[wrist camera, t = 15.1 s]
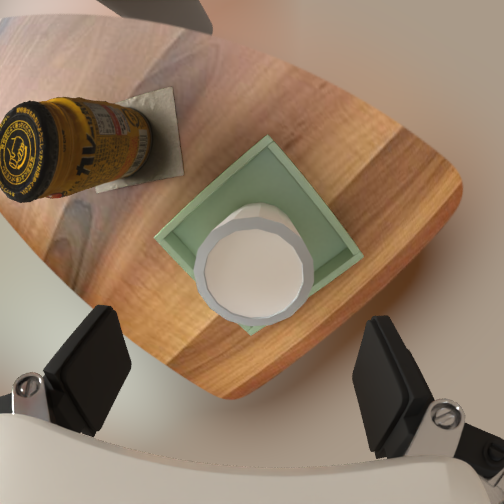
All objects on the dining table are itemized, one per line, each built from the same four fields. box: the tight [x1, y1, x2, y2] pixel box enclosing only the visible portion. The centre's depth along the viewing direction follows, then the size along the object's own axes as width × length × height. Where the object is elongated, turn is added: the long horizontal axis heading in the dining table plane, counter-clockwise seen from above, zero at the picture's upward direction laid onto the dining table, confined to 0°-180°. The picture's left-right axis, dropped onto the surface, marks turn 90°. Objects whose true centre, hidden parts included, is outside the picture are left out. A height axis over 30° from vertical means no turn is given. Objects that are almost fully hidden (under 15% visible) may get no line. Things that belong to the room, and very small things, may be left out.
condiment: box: [0, 86, 184, 203], centre depth 15 cm, size 7×8×12 cm
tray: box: [154, 135, 364, 335], centre depth 22 cm, size 11×11×2 cm
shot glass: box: [193, 202, 314, 326], centre depth 20 cm, size 7×7×7 cm
